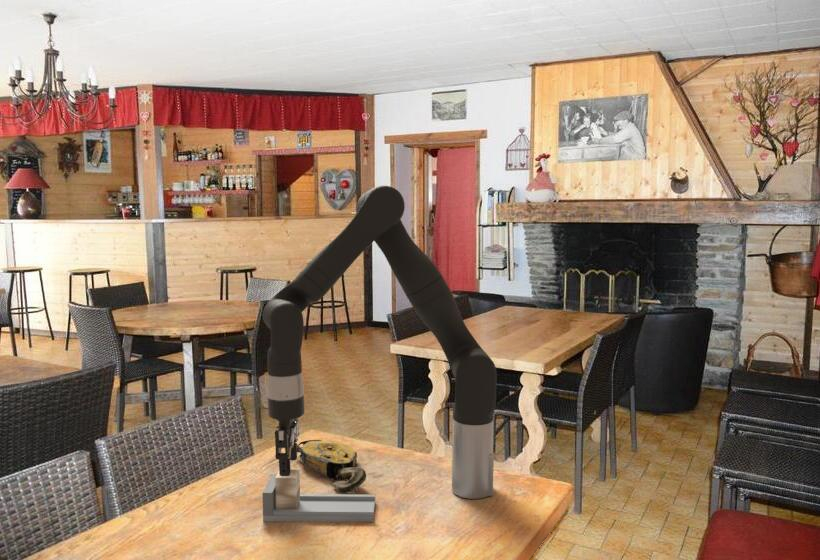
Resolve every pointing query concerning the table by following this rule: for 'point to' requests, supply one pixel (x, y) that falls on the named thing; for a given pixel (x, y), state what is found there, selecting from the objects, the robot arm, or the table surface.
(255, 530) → the table surface
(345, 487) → the pulley block
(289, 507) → the block
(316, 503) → the rail
